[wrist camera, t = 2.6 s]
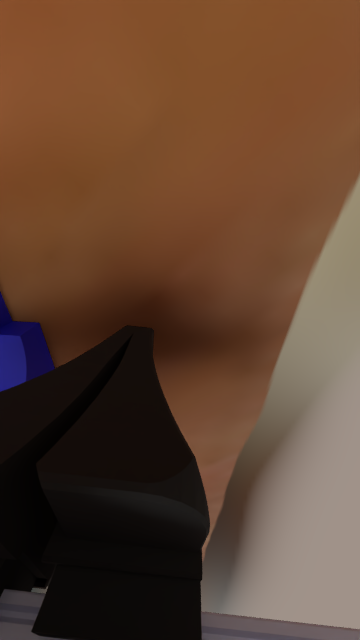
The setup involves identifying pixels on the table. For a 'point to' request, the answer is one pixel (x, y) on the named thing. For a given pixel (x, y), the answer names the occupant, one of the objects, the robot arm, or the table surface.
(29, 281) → the table surface
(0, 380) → the cable clip
